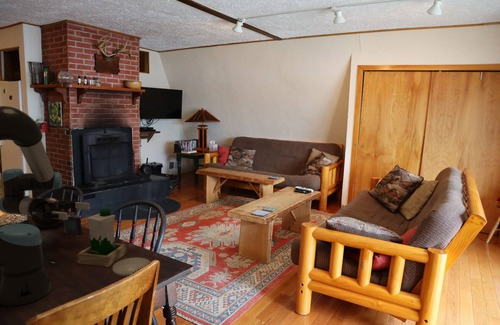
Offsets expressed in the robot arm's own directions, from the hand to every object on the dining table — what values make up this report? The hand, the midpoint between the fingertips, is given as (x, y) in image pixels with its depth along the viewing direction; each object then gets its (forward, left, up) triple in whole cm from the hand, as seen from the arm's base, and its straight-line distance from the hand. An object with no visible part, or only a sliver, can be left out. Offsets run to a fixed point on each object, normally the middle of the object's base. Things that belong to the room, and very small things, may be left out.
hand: (78, 211), depth 147 cm
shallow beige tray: (-1, -11, -19) cm, 22 cm away
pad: (-6, -27, -19) cm, 33 cm away
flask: (+21, +21, -19) cm, 35 cm away
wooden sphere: (+26, +39, -19) cm, 51 cm away
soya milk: (-1, -11, -19) cm, 22 cm away
